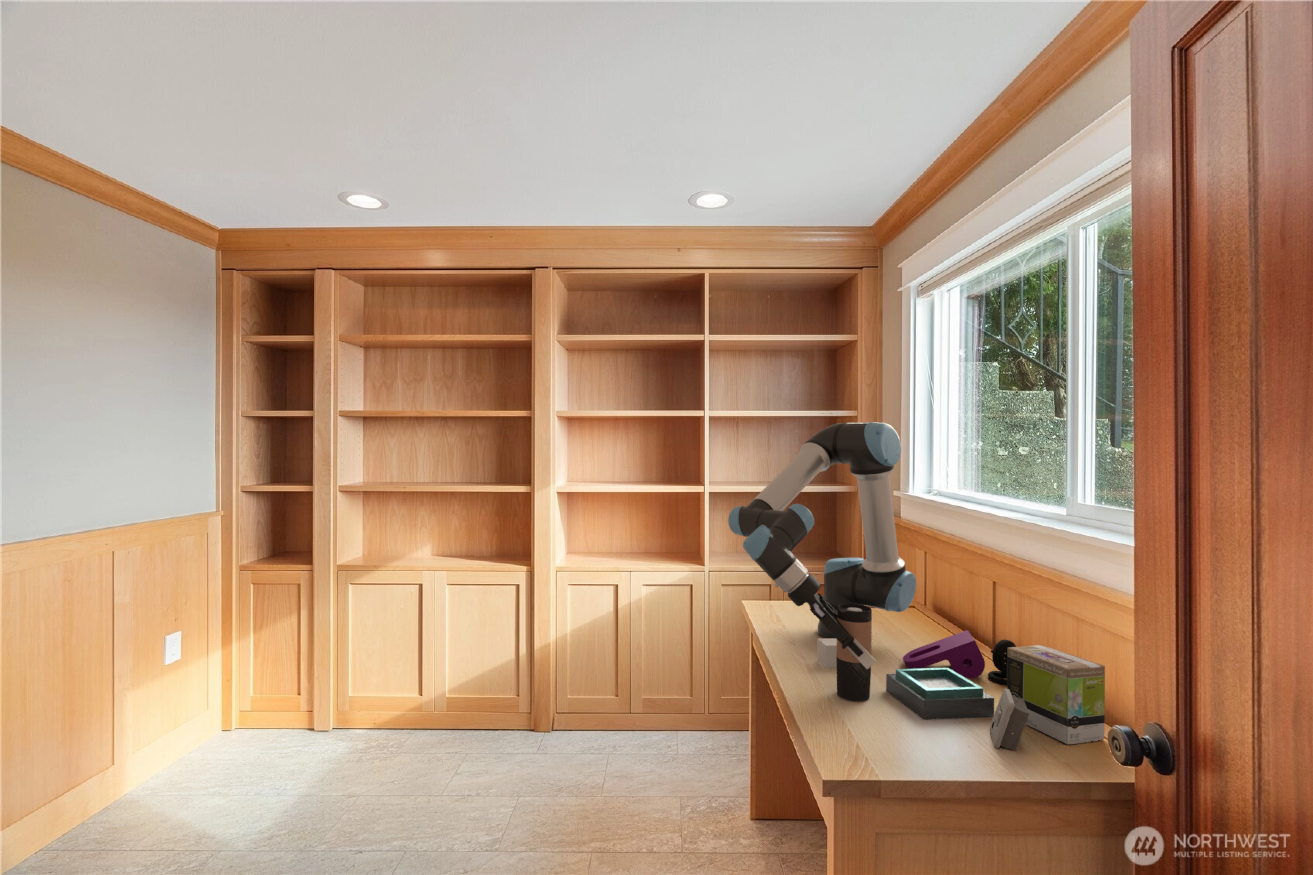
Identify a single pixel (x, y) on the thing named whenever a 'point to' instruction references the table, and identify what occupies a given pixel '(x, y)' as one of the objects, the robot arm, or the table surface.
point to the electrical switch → (1008, 721)
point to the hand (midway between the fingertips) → (869, 659)
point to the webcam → (1000, 661)
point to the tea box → (1059, 692)
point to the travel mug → (849, 669)
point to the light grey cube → (827, 653)
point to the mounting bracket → (949, 655)
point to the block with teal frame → (939, 694)
